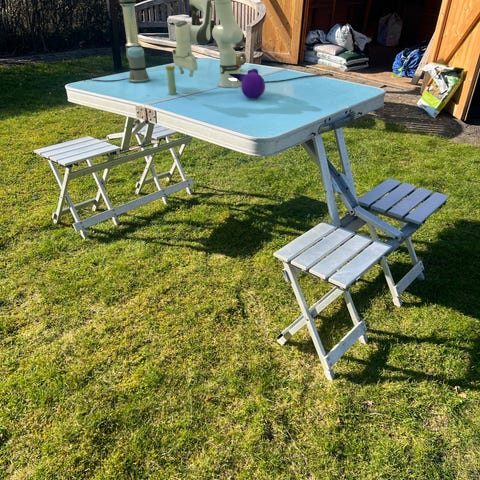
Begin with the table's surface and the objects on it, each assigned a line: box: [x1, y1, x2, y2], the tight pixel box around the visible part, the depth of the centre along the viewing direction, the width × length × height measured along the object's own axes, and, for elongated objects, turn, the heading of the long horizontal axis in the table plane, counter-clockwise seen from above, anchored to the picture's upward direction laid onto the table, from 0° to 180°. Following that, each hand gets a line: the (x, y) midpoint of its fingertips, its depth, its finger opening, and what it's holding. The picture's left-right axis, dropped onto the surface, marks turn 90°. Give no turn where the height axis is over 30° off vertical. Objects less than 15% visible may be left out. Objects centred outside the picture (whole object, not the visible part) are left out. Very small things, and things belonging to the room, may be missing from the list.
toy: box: [229, 68, 266, 100], centre depth 284 cm, size 16×18×27 cm
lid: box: [165, 64, 175, 71], centre depth 292 cm, size 6×6×2 cm
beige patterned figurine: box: [236, 52, 247, 70], centre depth 365 cm, size 21×12×15 cm, turn 120°
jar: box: [166, 69, 177, 96], centre depth 296 cm, size 5×5×17 cm
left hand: (196, 35), depth 349 cm, fingers open, 13 cm apart
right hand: (186, 75), depth 276 cm, fingers open, 8 cm apart
